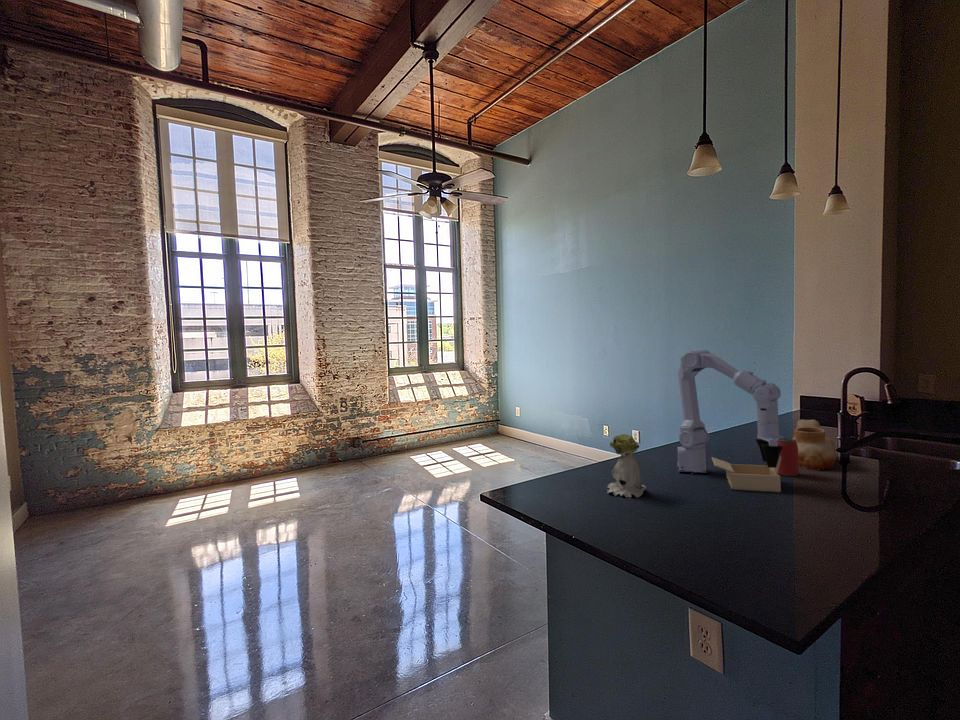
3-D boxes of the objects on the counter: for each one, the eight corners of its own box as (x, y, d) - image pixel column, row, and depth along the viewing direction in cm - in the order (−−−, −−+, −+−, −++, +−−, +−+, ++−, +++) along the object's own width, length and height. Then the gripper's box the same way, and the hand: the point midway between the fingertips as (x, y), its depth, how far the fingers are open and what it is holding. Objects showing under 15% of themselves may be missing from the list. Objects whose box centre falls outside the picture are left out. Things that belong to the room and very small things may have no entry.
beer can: (803, 476, 155) (802, 441, 155) (783, 477, 155) (782, 441, 155) (790, 471, 161) (789, 437, 161) (771, 472, 162) (770, 438, 161)
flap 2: (780, 456, 140) (781, 457, 140) (772, 448, 151) (773, 449, 151) (775, 474, 141) (776, 474, 141) (767, 465, 151) (769, 465, 151)
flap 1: (734, 471, 145) (733, 472, 145) (729, 463, 156) (729, 464, 156) (715, 464, 147) (714, 466, 147) (711, 456, 158) (711, 457, 158)
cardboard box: (731, 489, 145) (731, 473, 145) (726, 478, 157) (726, 463, 157) (780, 492, 140) (780, 476, 140) (771, 480, 152) (771, 465, 152)
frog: (644, 486, 152) (642, 431, 152) (646, 499, 140) (644, 438, 139) (607, 485, 156) (605, 431, 155) (606, 497, 143) (604, 438, 143)
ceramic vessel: (831, 456, 180) (829, 418, 179) (840, 472, 157) (838, 429, 157) (788, 453, 187) (787, 416, 187) (791, 468, 165) (789, 427, 165)
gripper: (788, 425, 138) (789, 470, 138) (777, 418, 151) (779, 459, 151) (761, 425, 140) (762, 469, 141) (752, 418, 154) (754, 458, 154)
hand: (769, 464), depth 146 cm, fingers open, 7 cm apart
